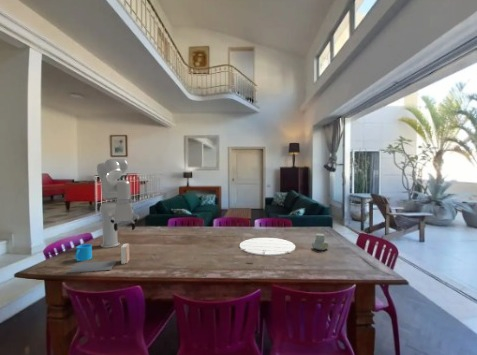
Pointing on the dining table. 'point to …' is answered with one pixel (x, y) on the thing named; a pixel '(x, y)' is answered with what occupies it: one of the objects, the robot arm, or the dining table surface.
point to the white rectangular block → (124, 253)
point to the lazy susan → (267, 246)
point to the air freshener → (320, 242)
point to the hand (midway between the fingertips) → (124, 230)
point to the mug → (83, 252)
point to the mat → (92, 266)
